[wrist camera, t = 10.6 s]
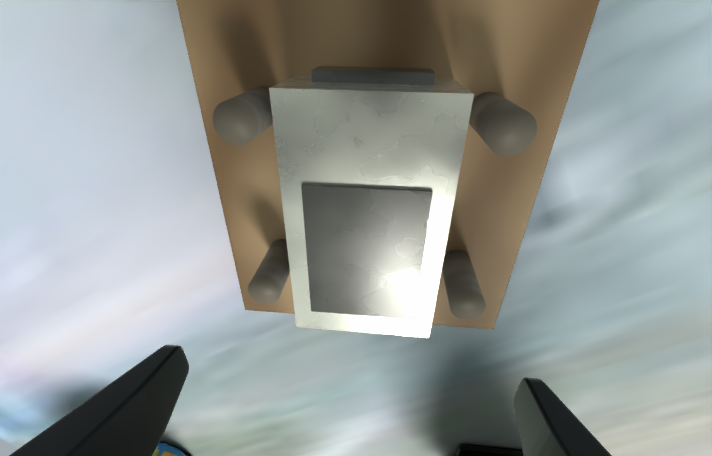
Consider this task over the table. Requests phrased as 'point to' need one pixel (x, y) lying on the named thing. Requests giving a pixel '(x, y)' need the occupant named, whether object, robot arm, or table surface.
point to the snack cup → (167, 450)
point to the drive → (368, 192)
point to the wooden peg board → (393, 50)
